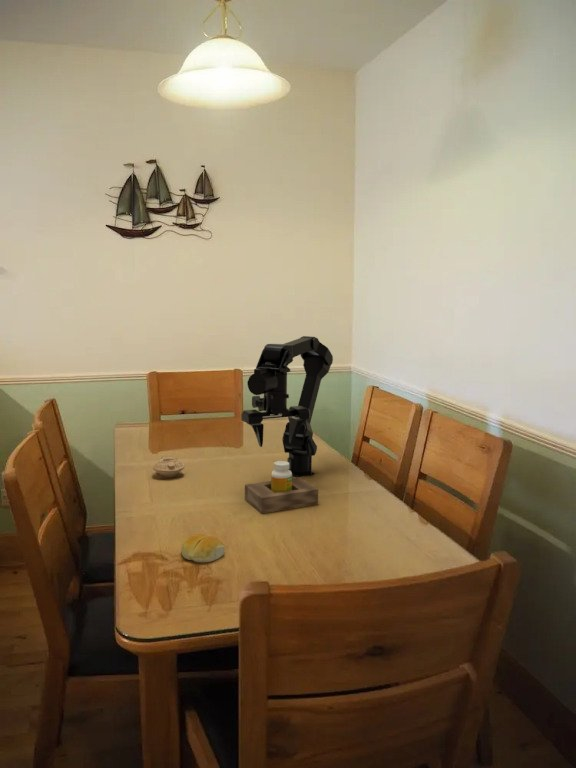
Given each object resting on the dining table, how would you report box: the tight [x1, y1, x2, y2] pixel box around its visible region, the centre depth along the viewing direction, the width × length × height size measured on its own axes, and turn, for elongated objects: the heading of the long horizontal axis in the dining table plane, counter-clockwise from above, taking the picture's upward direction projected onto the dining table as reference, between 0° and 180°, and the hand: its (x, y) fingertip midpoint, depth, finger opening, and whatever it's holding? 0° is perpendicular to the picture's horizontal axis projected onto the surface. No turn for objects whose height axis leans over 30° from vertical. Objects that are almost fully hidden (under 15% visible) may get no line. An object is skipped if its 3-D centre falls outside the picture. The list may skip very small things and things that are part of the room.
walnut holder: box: [244, 476, 319, 514], centre depth 158 cm, size 16×11×4 cm
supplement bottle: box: [270, 460, 293, 493], centre depth 157 cm, size 5×5×10 cm
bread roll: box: [180, 533, 225, 564], centre depth 127 cm, size 8×9×4 cm
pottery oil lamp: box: [152, 455, 186, 478], centre depth 180 cm, size 9×12×7 cm
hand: (275, 444), depth 168 cm, fingers open, 9 cm apart
